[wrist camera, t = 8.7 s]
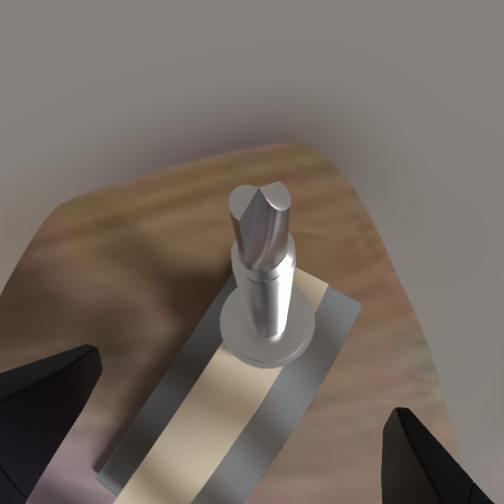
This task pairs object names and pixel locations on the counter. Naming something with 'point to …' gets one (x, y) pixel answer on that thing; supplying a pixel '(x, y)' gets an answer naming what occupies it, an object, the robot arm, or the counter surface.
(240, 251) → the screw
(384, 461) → the robot arm
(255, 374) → the stand
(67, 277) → the counter surface
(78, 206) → the counter surface
